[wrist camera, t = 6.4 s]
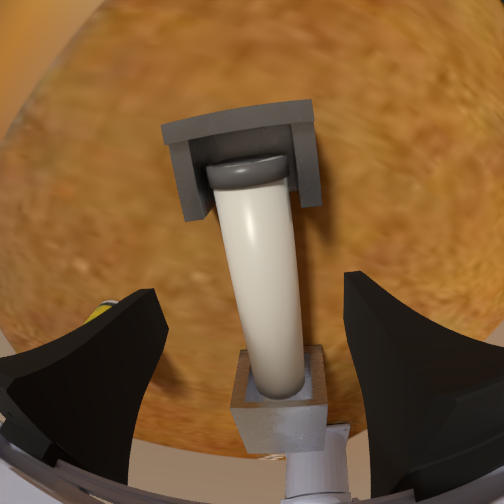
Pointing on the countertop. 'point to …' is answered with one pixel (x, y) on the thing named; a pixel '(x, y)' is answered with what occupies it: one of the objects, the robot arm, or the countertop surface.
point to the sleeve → (282, 410)
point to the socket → (243, 149)
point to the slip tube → (263, 266)
